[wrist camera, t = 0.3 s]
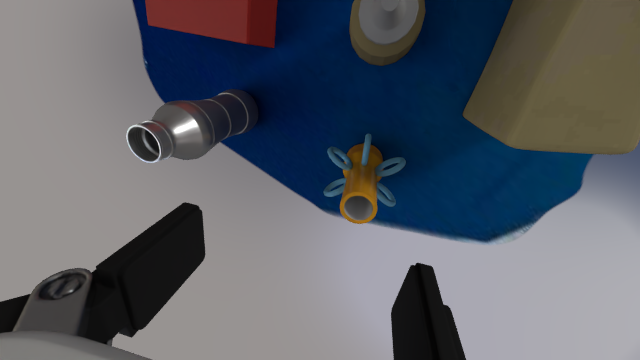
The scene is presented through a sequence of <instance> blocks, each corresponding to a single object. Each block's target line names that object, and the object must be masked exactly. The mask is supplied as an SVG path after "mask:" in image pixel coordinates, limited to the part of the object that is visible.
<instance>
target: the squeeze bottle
mask: <svg viewBox="0 0 640 360" xmlns="http://www.w3.org/2000/svg"><path fill="white" fill-rule="evenodd" d="M424 16H425V2H424V0H354V2H353V5H352V11H351V17H350V30H349V32H350V37H351V43H352V46H353V48H354V49H355V51H356V53H357V54H358V56H359V57H360V58H362V59H363V60H365V61H366V62H368V63H369V64H373V65H380V66H384V65H387V64H391V63H395V62H396V61H398V60H399V59H400V58H402V57H403V56H404V55H406V54H407V53H408V52H409V50H410V49H411V47H412V46H413V44H414V43H415V41H416V39H417V37H418V35H419V32H420V30H421V27H422V23H423V20H424Z"/></svg>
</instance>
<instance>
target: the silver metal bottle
mask: <svg viewBox="0 0 640 360" xmlns="http://www.w3.org/2000/svg"><path fill="white" fill-rule="evenodd" d="M257 120H258V107H257V104H256V102H255V100H254V99H253V98H252V97H251V96H250V95H249V94H248V93H246V92H245V91H242V90H237V89H229V90H226V91H224V92H222V93H220V94H219V95H217V96H215V97H212V98H210V99H205V100H198V101H171V102H168V103H166V104H164V105H163V106H161V107H160V108H159V109H158V110H157V111H156V113H155V115H154V117H153V119H152V120H148V121H144V122H142V123H141V124H136V125H133V126H131V127H130V128H129V129H128V131H127V134H126V138H127V143H128V145H129V147H130V149H131V151H132V152H133V153H134V154H135V155H136V156H137V157H138V158H139V159H141V160H142V161H144V162H148V163H154V162H158V161H160V160H164V159H168V158H170V157H176V158H179V159H183V160H189V159H197V158H199V157H201V156H203V155H204V154H206V153H207V152H208V151H209V150H210V149H212V148H213V147H214V146H215V145H216V144H217V143H219V142H220V141H222V140H223V139H225V138H227V137H229V136H232V135H235V134H242V133H245V132H248V131H249V130H251V129H252V128H253V127H254V125H255V124H256V122H257Z"/></svg>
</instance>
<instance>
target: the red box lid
mask: <svg viewBox="0 0 640 360" xmlns="http://www.w3.org/2000/svg"><path fill="white" fill-rule="evenodd" d="M145 2H146V10H147V18H148V25H150V26H155V27H161V28H166V29H171V30H176V31H181V32H187V33H192V34H197V35H202V36H208V37H213V38H218V39H223V40H229V41H234V42H239V43H244V44H249V41H250V11H251V0H145Z"/></svg>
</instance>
